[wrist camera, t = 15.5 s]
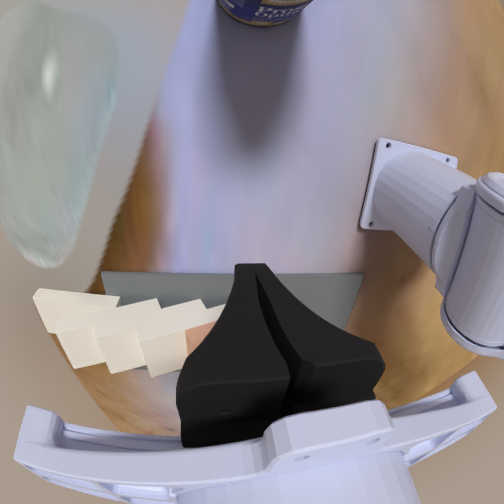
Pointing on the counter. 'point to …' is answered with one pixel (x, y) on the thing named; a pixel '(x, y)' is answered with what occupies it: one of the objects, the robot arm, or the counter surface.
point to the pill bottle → (263, 11)
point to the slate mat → (219, 287)
